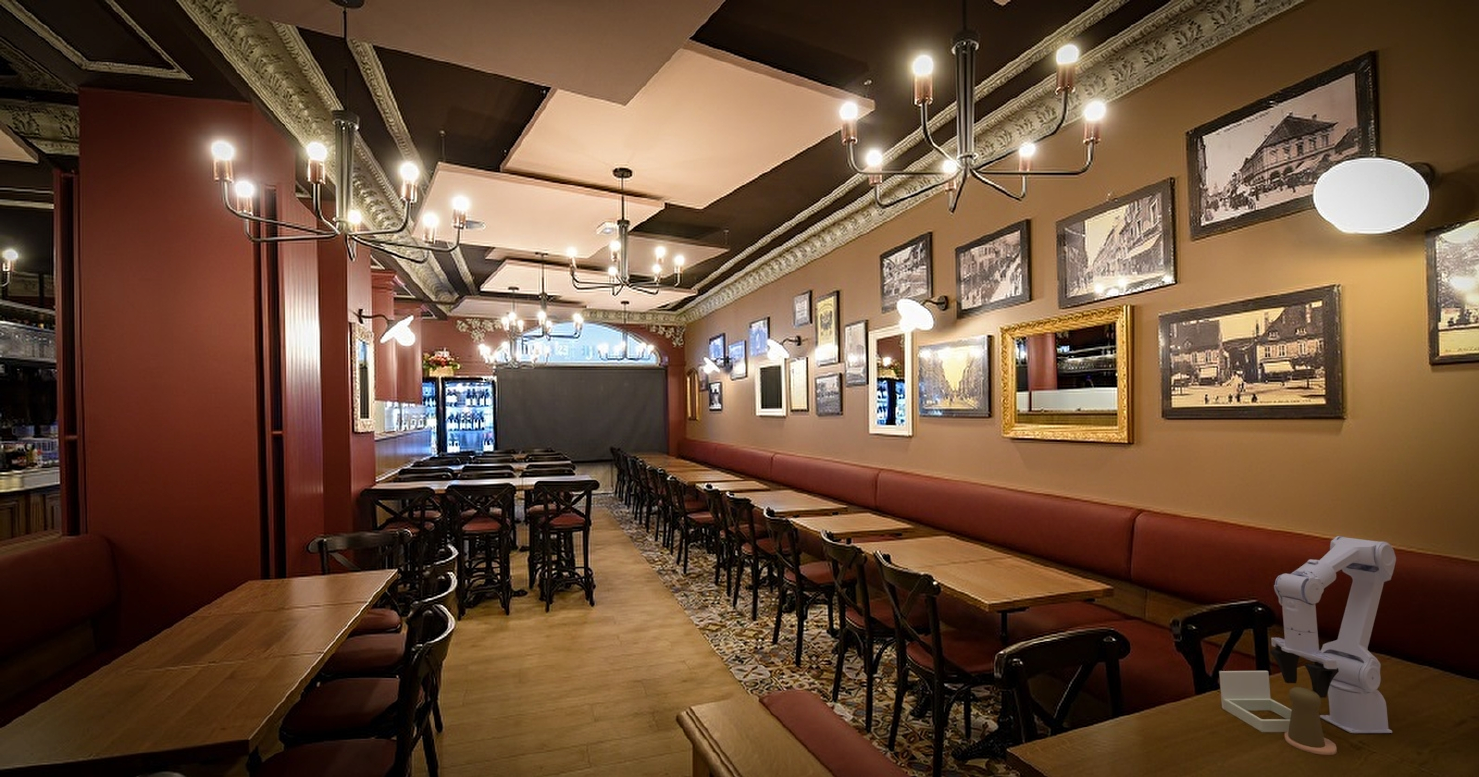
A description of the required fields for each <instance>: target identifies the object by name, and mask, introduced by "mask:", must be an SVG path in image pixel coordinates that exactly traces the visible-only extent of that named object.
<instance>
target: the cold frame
mask: <svg viewBox="0 0 1479 777" xmlns="http://www.w3.org/2000/svg"><path fill="white" fill-rule="evenodd" d="M1218 674H1219V687H1220V698H1221V699H1220V700H1221V708H1222V710H1224V711H1226V712H1228V713H1229V714H1231V715H1233V716H1235V717H1236V718H1238V719H1240V720H1241V721H1243V722H1245V723H1246V724H1247V725H1249V726H1251V727H1252V728H1254V729H1256V730H1258V731H1259V732H1261V733H1285V732H1287V731H1289V724H1290V718H1291V711H1292V708H1289V707H1287V706H1285V705H1284V704H1282V703H1280V702H1278V701H1276V700H1274V699H1273V698H1271V689H1270V687H1271V686H1270V675H1269V671H1268V670H1226V671H1225V670H1223V671H1222V670H1218ZM1250 711H1271V712H1273V713H1275V714H1276V715H1279V716H1280V717H1283V718H1280V719H1279V718H1275V719H1274V718H1271V719H1269V718H1266V719H1265V718H1264V719H1262V718H1260V717H1258V716H1257V715H1255V714H1253V713H1252V712H1250Z"/></svg>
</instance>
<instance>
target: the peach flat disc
mask: <svg viewBox="0 0 1479 777" xmlns="http://www.w3.org/2000/svg"><path fill="white" fill-rule="evenodd" d="M1284 740H1285V742H1286V743H1287V744H1289V745H1290V746H1293V747H1294V748H1296V749H1299V750H1301V751H1303V752H1308V753H1311V754H1317V755H1322V756H1330V755H1335V754H1337V753H1338V752H1337V751H1338V748H1337V744H1335V742H1333V741H1332V740H1330V739H1328V738H1326V737H1324V741H1325V746H1324V747H1322V748H1315V747H1309V746H1305V745H1302V744H1299V743H1297V742H1295V741H1293V740H1292V739H1290V738H1289V736H1288V731H1287V732H1284Z"/></svg>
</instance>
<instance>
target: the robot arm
mask: <svg viewBox="0 0 1479 777" xmlns="http://www.w3.org/2000/svg"><path fill="white" fill-rule="evenodd" d="M1396 562H1397V557H1396V554H1395V550H1394V548H1393V546H1392V545H1391V544H1390V543H1389V542H1387V541H1376V540H1371V539H1370V540H1368V539H1361V538H1352V537H1345V536H1343V535H1337V536H1336V537H1334V538H1333V539H1332V540H1330V544H1329V550H1328V552H1327V553H1326V554H1324V556H1322V558H1320V559H1312V558H1311V559H1308V560H1307V561H1306V562H1305V563H1304V564H1303V565H1302V566H1299V568H1296V569H1295V570H1294V571H1292V572H1291V573H1282V574H1280V575H1278V576H1277V577H1276V579H1275V582H1274V585H1273V589H1274V593H1275V594H1276V596H1277V597H1278V603H1279V605H1280V606H1282V619H1283V620H1282V621H1283V632H1284V638H1281V637H1271V647H1274V648H1273V649H1269V652H1270V654H1271V655H1272V656H1273V659H1274V660H1275V662H1276V663H1277V665H1278V668H1279V670H1280V673H1281V675H1282V678H1283V680H1284V683H1286V684H1297V680H1298V663H1299V659H1300V657H1301V658H1304V659H1306V660H1308V661H1310V662H1313V663H1304V666H1305V669H1306V670H1307V673H1308V676H1309V678H1310V682H1311V688H1312V691H1314V692H1316V693H1317V694H1318V695H1319V696H1320V699H1321V698H1322V699H1323V698H1324V699H1325V698H1328V706H1329V707H1328V708H1329V714H1325V715H1324V714H1321V715H1320V714H1319V716H1320V719H1322V720H1324V721H1326V722H1328V723H1330V724H1332V725H1334V726H1336V727H1338V728H1340V729H1341V730H1344V731H1346V732H1348V733H1350V734H1390V733H1391V734H1393V730H1392V729H1390V728H1389V721H1388V720H1389V719H1388V709H1387V702H1386V699H1385V698H1384V695H1382V693H1381V692H1380V691H1379V690H1378V688H1379V687H1380V684H1381V681H1382V680H1381V679H1382V678H1381V662H1380V661H1379V660H1378V658H1377V657H1376V656H1375V655H1374V654H1372V653H1371V652H1370V651H1369V650H1368V647H1369V644H1370V640H1371V636H1372V632H1373V627H1374V623H1375V619H1376V616H1377V611H1378V608H1379V604H1380V599H1381V595H1382V592H1383V589H1384V588H1383V587H1384V584H1385V583H1386V582H1388V581H1391V580H1392V576H1393V574H1394V570H1395V567H1396V566H1395V565H1396ZM1341 570H1342V572H1343V573H1344V574H1346V575H1348V576H1350V577H1351V579H1352V583H1351V586H1350V590H1349V594H1348V598H1347V602H1346V605H1345V610H1344V613H1343V617H1342V620H1341V624H1340V628H1339V631H1338V636H1337V639H1336V640H1333V641H1328V642H1326V643H1323V644H1322V647H1321V649H1320V644H1319V634H1318V633H1319V632H1318V621H1317V619H1318V618H1317V608H1316V604H1317V603H1319V602H1320V600H1321V598H1322V594H1323V593H1324V591H1325V590H1324V589H1325V588H1327V587H1329V585H1331V584H1332V583H1334V581H1336V579H1337V572H1339V571H1341Z"/></svg>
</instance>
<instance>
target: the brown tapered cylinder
mask: <svg viewBox="0 0 1479 777" xmlns="http://www.w3.org/2000/svg"><path fill="white" fill-rule="evenodd" d="M1288 694H1289V695H1288V696H1289V699H1290V701H1291V702H1292V705H1291V709H1292V711H1291V718H1290V724H1289V731H1288V736H1289V738H1290V739H1292V740H1293V741H1295V742H1297V743H1299V744H1302V745H1305V746H1309V747H1315V748H1322V747H1324V746H1325V741H1324V738H1325V737H1324V732H1323V728H1322V727H1323V726H1322V723H1321V718H1320V712H1319V708H1320V707H1321V706H1322V699H1321V698H1320V696H1319V695H1318V694H1317V693H1316V692H1314V691H1313V689H1310V688H1306V687H1300V686H1296V687H1292V688H1291V689H1290V690H1289V692H1288Z"/></svg>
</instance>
